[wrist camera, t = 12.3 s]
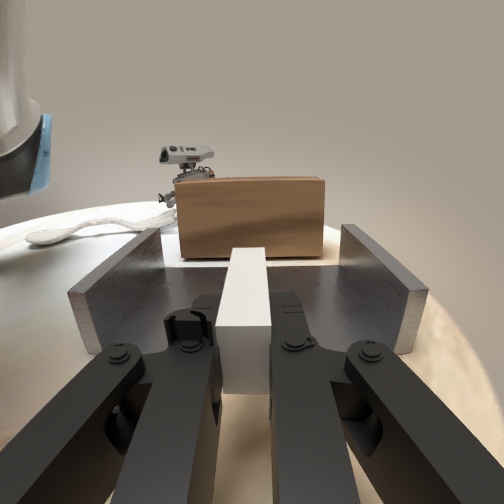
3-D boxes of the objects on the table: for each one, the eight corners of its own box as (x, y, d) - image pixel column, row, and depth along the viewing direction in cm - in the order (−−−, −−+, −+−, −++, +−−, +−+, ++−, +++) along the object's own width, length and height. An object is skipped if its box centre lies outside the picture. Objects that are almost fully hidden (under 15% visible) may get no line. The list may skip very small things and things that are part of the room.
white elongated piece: (176, 236, 47) (174, 215, 46) (20, 253, 41) (16, 235, 40) (177, 223, 55) (176, 206, 54) (39, 239, 49) (36, 224, 48)
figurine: (158, 219, 58) (153, 148, 53) (211, 213, 62) (208, 144, 57) (161, 229, 50) (155, 146, 45) (222, 222, 54) (219, 141, 49)
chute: (410, 352, 17) (428, 288, 15) (87, 352, 17) (67, 291, 16) (350, 266, 32) (354, 224, 30) (153, 269, 33) (147, 227, 31)
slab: (322, 256, 34) (324, 180, 31) (181, 257, 34) (174, 183, 32) (314, 243, 39) (316, 176, 36) (190, 245, 39) (185, 179, 36)
